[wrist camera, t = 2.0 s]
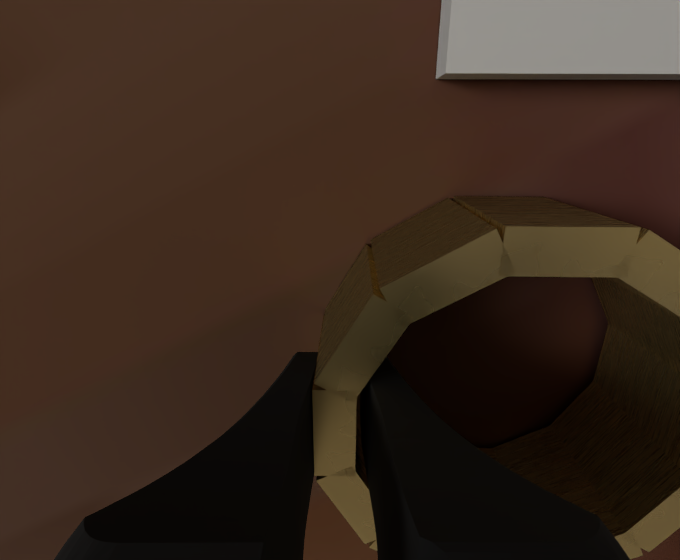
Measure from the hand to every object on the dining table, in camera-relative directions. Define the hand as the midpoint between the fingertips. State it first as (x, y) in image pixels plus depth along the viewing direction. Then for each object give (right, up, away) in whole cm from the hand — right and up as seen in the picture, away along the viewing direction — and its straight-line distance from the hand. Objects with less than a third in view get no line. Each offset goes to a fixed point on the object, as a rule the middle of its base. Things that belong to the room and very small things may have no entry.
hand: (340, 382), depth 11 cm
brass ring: (+5, +1, +2) cm, 5 cm away
